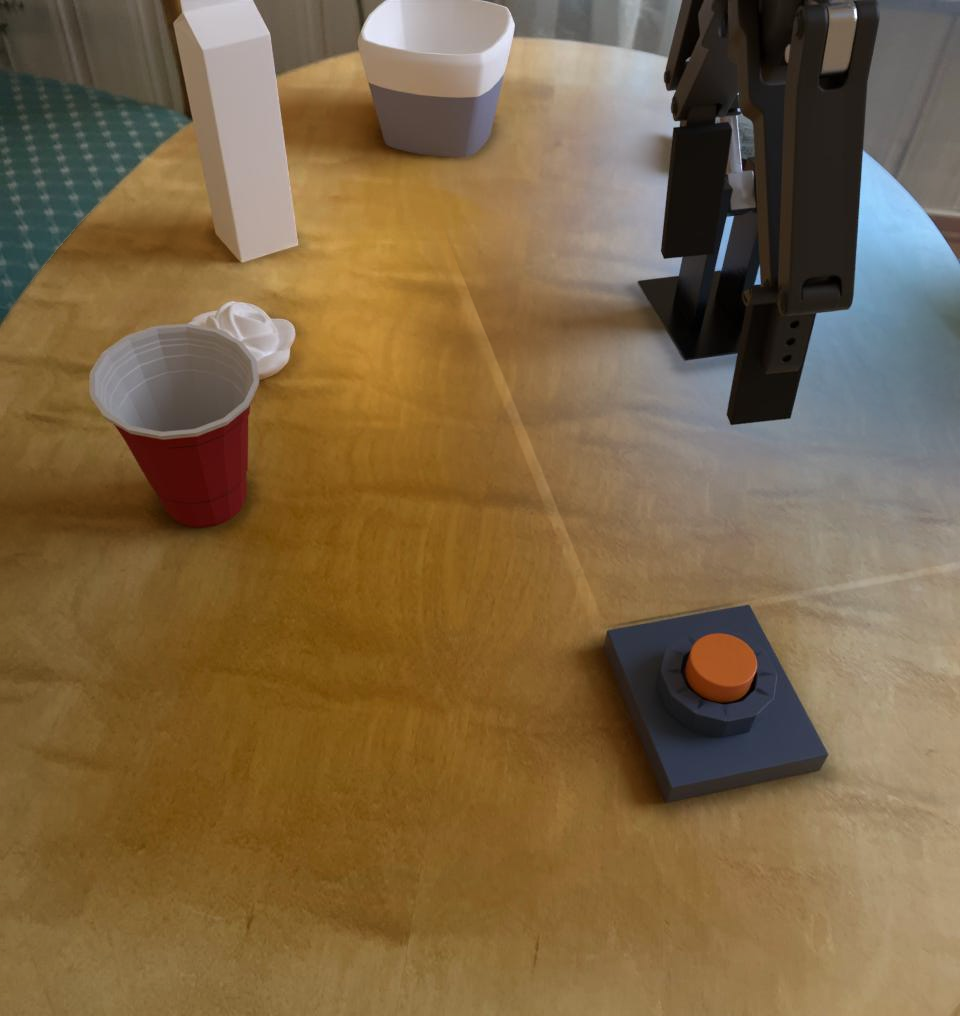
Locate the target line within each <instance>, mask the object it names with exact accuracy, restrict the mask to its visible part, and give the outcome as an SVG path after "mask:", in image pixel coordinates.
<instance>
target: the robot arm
mask: <svg viewBox="0 0 960 1016" xmlns="http://www.w3.org/2000/svg"><path fill="white" fill-rule="evenodd" d="M880 18H881V17H880V5H879V1H878V0H681V3H680V8H679V12H678V15H677V19H676V24H675V27H674V28H675V29H674V32H673V36H672V40H671V45H670V49H669V53H668V57H667V61H666V65H665V70H664V72H663V81H664V85H665V89H666V91H667V92H672V91H673V92H674V93H673V96H672V98H671V103H670V112H671V114H672V119H673V121H674V122H679V126H674V127H672V137H671V147H670V149H671V150H670V155H669V158H670V159H669V166H668V177H667V187H666V198H665V206H664V214H663V215H664V216H663V225H662V226H663V227H662V235H661V246H660V253H661V255H662V258H663V259H664V260H667V259H677V258H678V259H679V258H682V257H687V256H697V255H707V254H714V252H715V245H716V238H717V231H718V224H719V218H720V211H721V204H722V197H723V191H724V184H725V177H726V170H727V163H728V157H729V150H730V143H731V136H732V127H731V125H730V124H729V122H722V123H715V120H716V117H725V116H735V115H740V114H741V113H742V114H743V116H745V117H746V118H748V119H749V120H751V122H752V123H753V131H754V152H755V174H756V195H757V216H758V237H759V258H760V265H759V277H760V278H759V279H760V283H759V284H754V285H750V288H749V290H746V291H744V292H742V296H743V301H744V304H745V305H746V310H745V316H744V321H743V327H742V332H741V338H740V343H739V349H738V353H737V354H736V360H735V364H734V365H735V366H734V370H733V376H732V381H731V388H730V394H729V397H728V404H727V409H726V417H727V419H728V421H729V424H730V426H736V425H746V424H753V423H754V424H755V423H765V422H773V421H781V420H790V419H791V418H792V415H793V410H794V406H795V402H796V399H797V394H798V389H799V385H800V382H801V377H802V373H803V369H804V366H805V362H806V357H807V353H808V349H809V345H810V341H811V337H812V333H813V329H814V326H815V325H814V324H815V321H816V317H817V314H821V313H823V314H824V313H832V312H833V313H834V312H840V311H847V310H849V309H850V308H851V307H852V305H853V301H854V296H855V295H854V294H855V280H856V279H855V278H856V263H857V248H858V234H859V233H858V232H859V219H860V204H861V203H860V202H861V189H862V188H861V187H862V173H863V157H864V143H865V141H864V140H865V128H866V127H865V125H866V112H867V111H866V110H867V98H868V97H867V95H868V81H869V77H870V71H871V65H872V60H873V55H874V51H875V45H876V42H877V35H878V31H879V30H878V29H879V25H880ZM738 109H739V110H738Z"/></svg>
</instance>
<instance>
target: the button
mask: <svg viewBox="0 0 960 1016" xmlns="http://www.w3.org/2000/svg"><path fill="white" fill-rule="evenodd" d="M756 670H757V660H756V656H755V654H754V652H753V651H752V649H751V648H750V647H749V646H748V645H747V644H746V643H745V642H744V641H742V640H740V639H739V638H737V637H734V636H731V635H728V634H720V633H718V634H710V635H706V636H704V637H702V638H700V639H699V640H697V641H696V642H695V643H694V645H693V646H692V648H691V651H690V655H689V658H688V661H687V664H686V668H685V675H686V679H687V682H688V684H689V685H690V687H691V688H692V689H693V690H694V691H695V692H696V693H697V694H698V695H700V696H701V697H703V698H705V699H707V700H710V701H714V702H721V703H726V702H732V701H735V700H738V699H739V698H741V697H743V696H744V695H745V694H746V693H747V691H748V690H749V688H750V686H751V683H752V681H753V678H754V676H755V673H756Z"/></svg>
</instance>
